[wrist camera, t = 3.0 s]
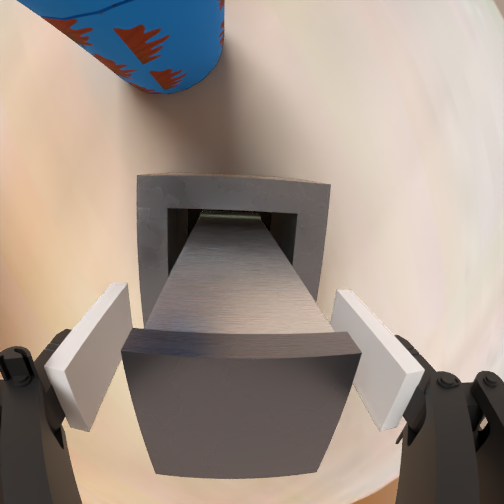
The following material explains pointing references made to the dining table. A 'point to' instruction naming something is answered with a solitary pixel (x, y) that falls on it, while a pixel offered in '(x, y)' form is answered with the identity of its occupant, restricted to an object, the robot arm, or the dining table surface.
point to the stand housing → (227, 198)
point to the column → (237, 360)
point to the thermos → (143, 37)
